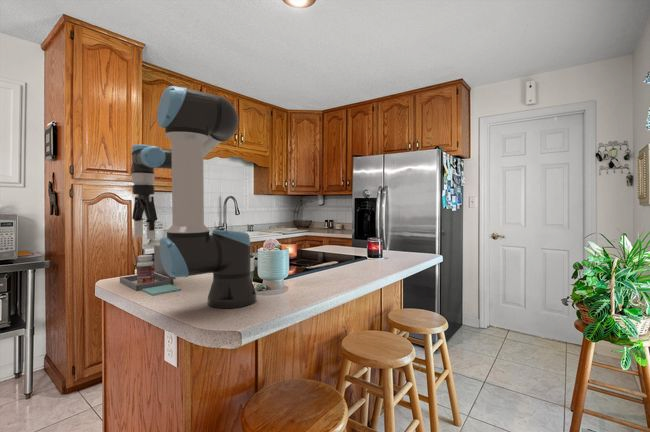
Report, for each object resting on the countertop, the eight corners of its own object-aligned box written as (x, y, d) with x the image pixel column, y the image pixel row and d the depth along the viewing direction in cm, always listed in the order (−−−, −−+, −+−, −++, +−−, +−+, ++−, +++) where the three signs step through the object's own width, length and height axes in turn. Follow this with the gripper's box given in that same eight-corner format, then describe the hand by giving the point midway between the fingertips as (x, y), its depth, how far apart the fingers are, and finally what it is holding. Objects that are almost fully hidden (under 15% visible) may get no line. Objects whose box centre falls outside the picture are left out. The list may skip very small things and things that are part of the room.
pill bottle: (155, 284, 133) (154, 255, 133) (137, 286, 130) (137, 257, 129) (153, 281, 138) (153, 253, 138) (136, 283, 135) (135, 255, 134)
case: (175, 284, 133) (175, 249, 132) (136, 290, 122) (135, 252, 122) (156, 276, 146) (155, 245, 146) (119, 282, 136) (119, 248, 136)
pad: (181, 290, 123) (181, 288, 123) (152, 295, 116) (152, 293, 116) (169, 285, 130) (169, 284, 130) (142, 290, 123) (142, 289, 123)
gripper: (165, 183, 127) (167, 239, 127) (142, 186, 144) (143, 235, 145) (144, 182, 121) (145, 240, 122) (123, 185, 138) (124, 236, 139)
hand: (144, 237), depth 133 cm, fingers open, 13 cm apart
